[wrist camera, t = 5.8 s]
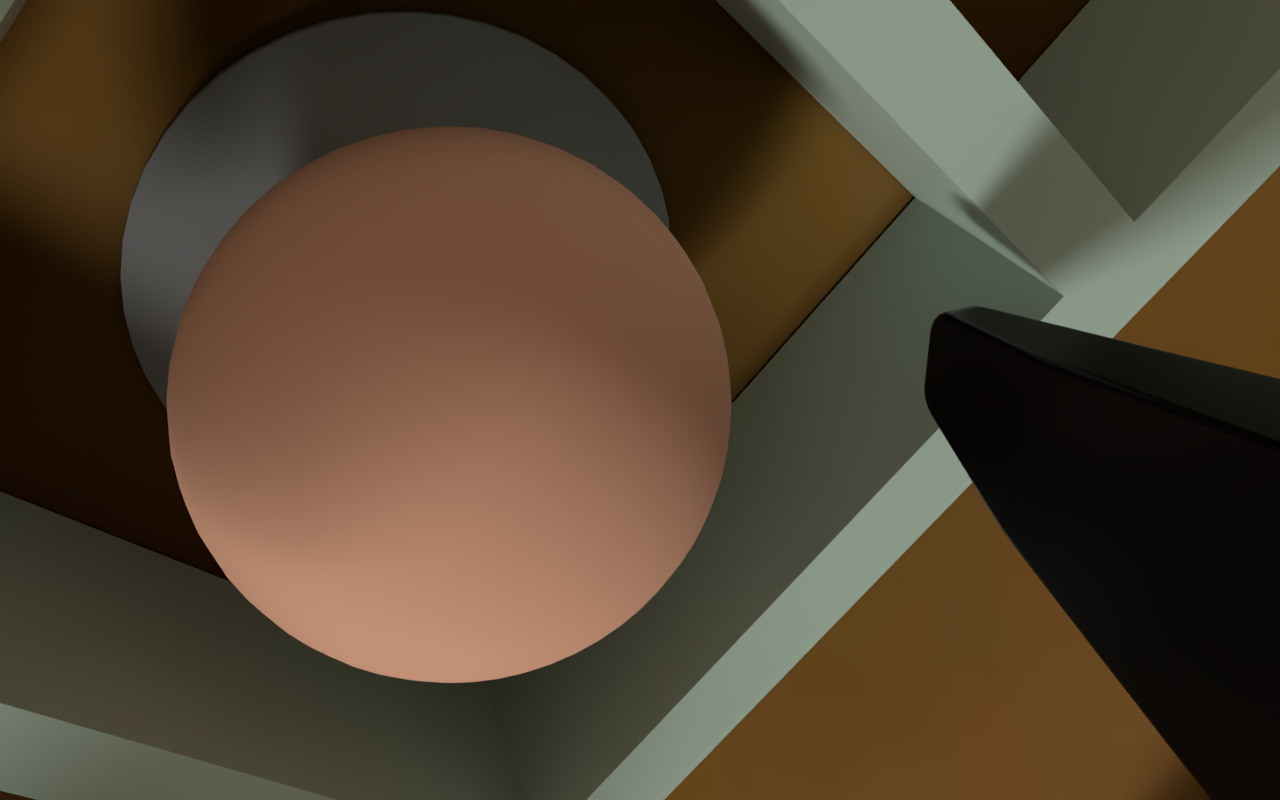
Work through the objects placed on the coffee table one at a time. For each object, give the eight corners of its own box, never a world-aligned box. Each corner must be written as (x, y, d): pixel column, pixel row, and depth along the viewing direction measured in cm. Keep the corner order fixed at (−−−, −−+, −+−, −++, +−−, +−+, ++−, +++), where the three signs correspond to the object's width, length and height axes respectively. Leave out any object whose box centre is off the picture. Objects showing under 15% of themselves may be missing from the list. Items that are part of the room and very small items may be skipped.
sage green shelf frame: (1274, -110, 13) (1513, -75, 11) (326, 935, 17) (342, 1130, 15) (636, -1308, 7) (852, -1862, 5) (-584, 748, 11) (-809, 1026, 9)
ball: (643, 430, 14) (816, 711, 10) (242, 520, 13) (253, 884, 9) (620, 34, 11) (845, 198, 7) (110, 101, 10) (36, 344, 6)
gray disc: (761, 224, 13) (768, 231, 13) (465, 570, 14) (468, 580, 14) (342, -130, 10) (344, -126, 10) (6, 359, 11) (3, 369, 11)
